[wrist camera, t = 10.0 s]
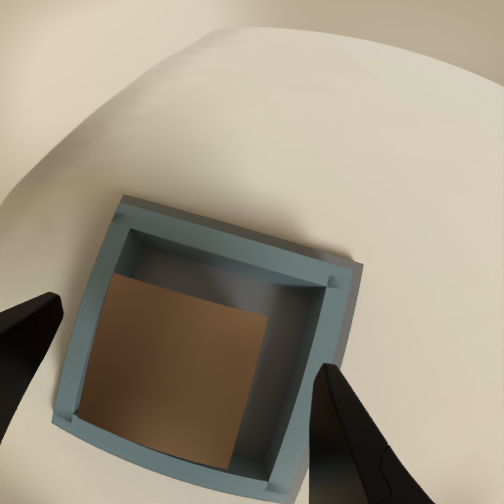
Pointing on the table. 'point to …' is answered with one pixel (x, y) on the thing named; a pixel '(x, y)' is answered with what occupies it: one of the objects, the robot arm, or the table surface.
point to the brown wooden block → (171, 370)
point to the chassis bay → (236, 296)
